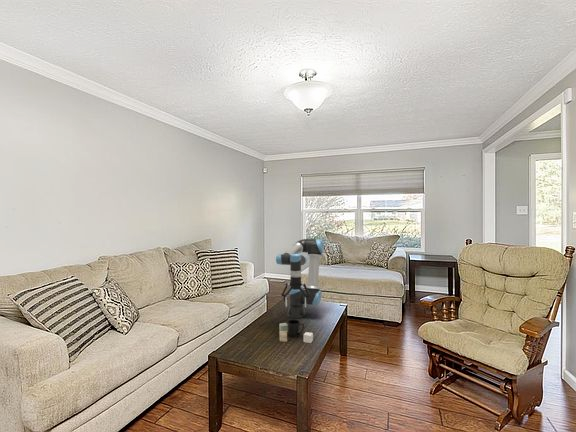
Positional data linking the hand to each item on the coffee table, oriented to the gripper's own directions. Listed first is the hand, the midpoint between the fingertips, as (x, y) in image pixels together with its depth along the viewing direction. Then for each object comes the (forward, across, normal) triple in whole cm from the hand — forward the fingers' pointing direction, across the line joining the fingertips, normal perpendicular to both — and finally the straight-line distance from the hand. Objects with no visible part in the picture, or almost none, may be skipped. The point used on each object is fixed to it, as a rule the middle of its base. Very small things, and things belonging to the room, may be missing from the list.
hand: (295, 306), depth 209 cm
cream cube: (+21, +9, -8) cm, 24 cm away
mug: (+21, 0, 0) cm, 21 cm away
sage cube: (+21, -10, +7) cm, 24 cm away
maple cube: (+21, -8, -8) cm, 23 cm away
